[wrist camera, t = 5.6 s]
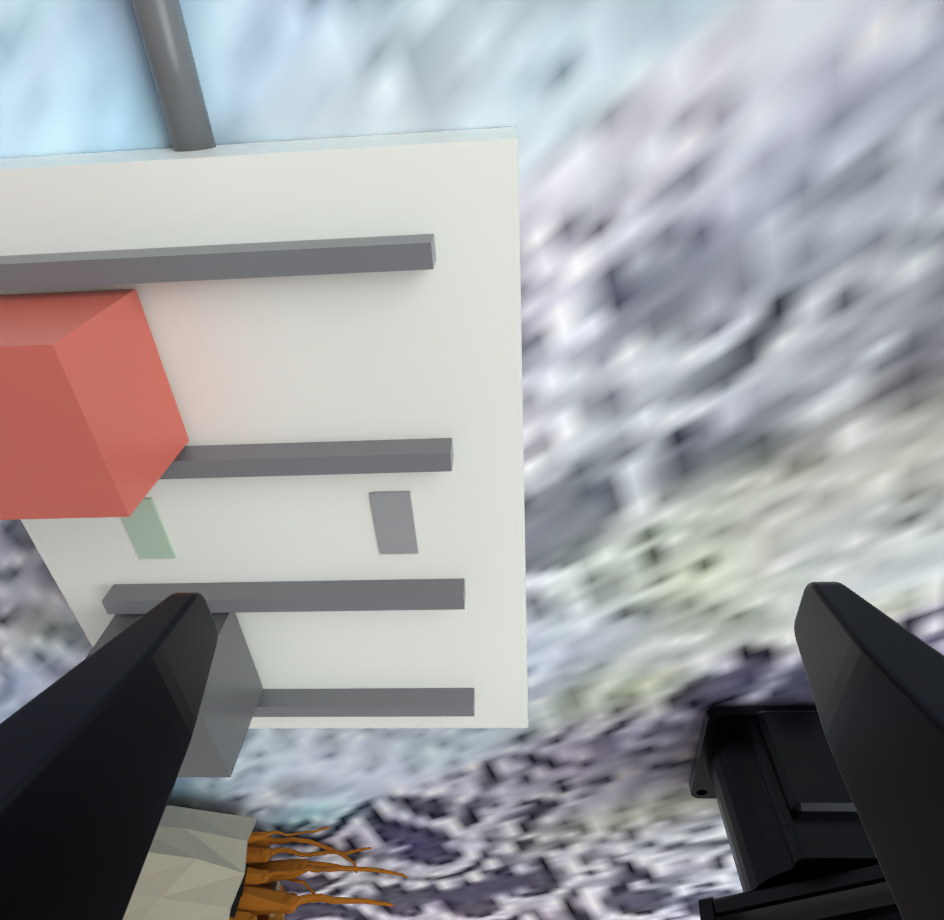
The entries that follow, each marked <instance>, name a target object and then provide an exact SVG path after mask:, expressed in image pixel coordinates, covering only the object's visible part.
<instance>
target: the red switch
mask: <svg viewBox="0 0 944 920" xmlns="http://www.w3.org/2000/svg"><path fill="white" fill-rule="evenodd" d="M188 442H189V438H188V435H187V433H186V430H185V427H184V424H183V421H182V418H181V416H180V413H179V410H178V407H177V404H176V401H175V398H174V396H173V393H172V390H171V387H170V384H169V381H168V379H167V376H166V373H165V370H164V367H163V364H162V362H161V359H160V356H159V353H158V350H157V347H156V344H155V342H154V339H153V336H152V333H151V330H150V327H149V325H148V322H147V319H146V316H145V313H144V310H143V308H142V305H141V302H140V299H139V296H138V293H137V290H136V289H118V290H97V291H76V292H55V293H34V294H13V295H0V520H15V519H57V518H100V517H130V515H131V514H132V513H133V511H134V510H135V509H136V508H137V506H138V505H139V504H140V503H141V501H142V500H143V499H144V497H145V496H146V495H147V494H148V492H149V491H150V490H151V489H152V487H153V486H154V485H155V483H156V482H157V481H158V480H159V478H160V477H161V476H162V475H163V473H164V472H165V471H166V470H167V468H168V467H169V466H170V464H171V463H172V462H173V461H174V459H175V458H176V457H177V456H178V454H179V453H180V452H181V450H182V449H183V448H184V447H185V445H186V444H187V443H188Z"/></svg>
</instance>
